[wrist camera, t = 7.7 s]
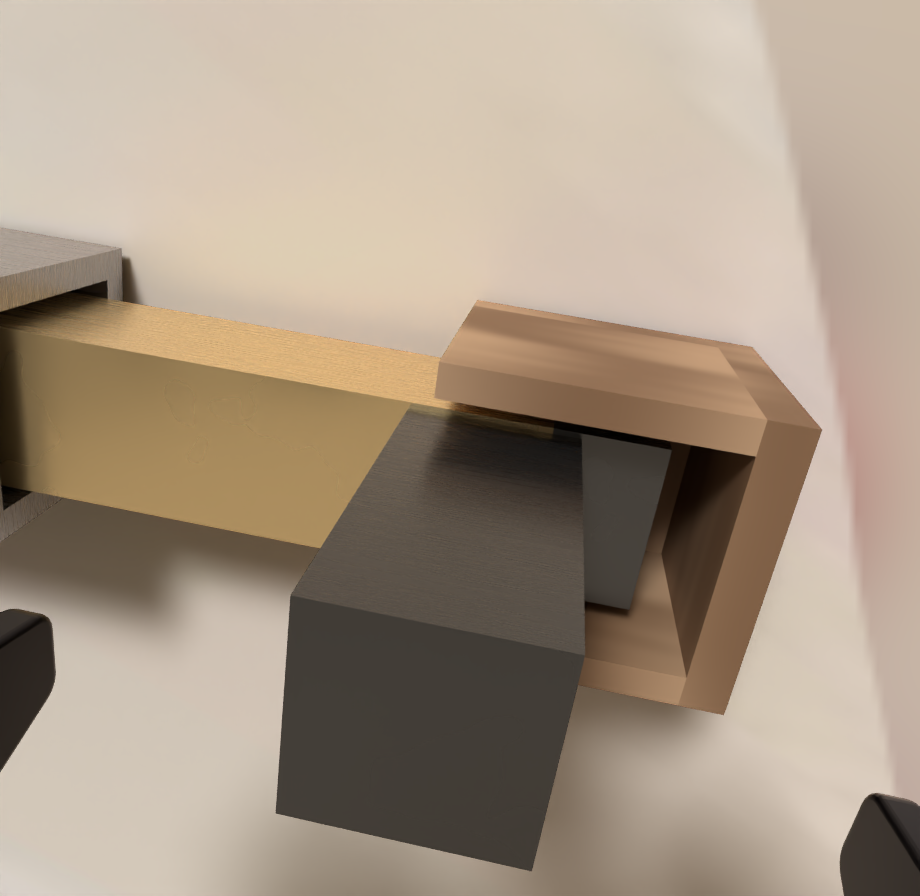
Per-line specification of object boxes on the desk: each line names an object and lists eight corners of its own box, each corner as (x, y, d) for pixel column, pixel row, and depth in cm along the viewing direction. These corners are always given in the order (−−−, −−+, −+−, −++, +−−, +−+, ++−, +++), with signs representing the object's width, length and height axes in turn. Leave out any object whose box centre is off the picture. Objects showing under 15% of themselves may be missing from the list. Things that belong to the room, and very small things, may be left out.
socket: (443, 522, 19) (400, 647, 14) (476, 299, 17) (439, 361, 12) (686, 570, 18) (724, 714, 14) (752, 347, 16) (821, 429, 12)
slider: (-21, 410, 18) (-524, 638, 10) (-36, 273, 17) (-622, 401, 9) (620, 533, 17) (661, 907, 9) (655, 395, 16) (742, 678, 8)
